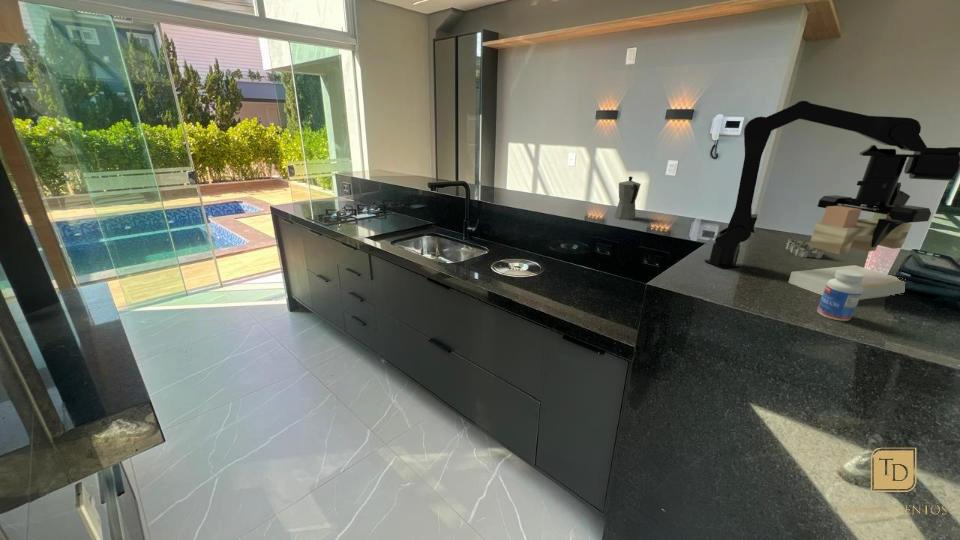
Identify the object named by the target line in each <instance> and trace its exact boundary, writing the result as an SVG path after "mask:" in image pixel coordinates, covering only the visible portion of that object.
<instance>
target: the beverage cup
mask: <svg viewBox="0 0 960 540" xmlns="http://www.w3.org/2000/svg"><path fill="white" fill-rule="evenodd" d="M904 246H905V245H904V244H903V246H902V248H896V249H892V248H888V247H883V246H879V245H878V246H877V248H876V251H868V254H867V257H866V261H865V264H864V267H863V268H866V269H870V270H874V271H877V272H881V273H884V274H888V275H889V272H890V271H891V269H892V266H893V265H894V263H895V261H896V259H897V257H898V255H899V252H900V251H901V249H903V247H904Z"/></svg>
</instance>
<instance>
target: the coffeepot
mask: <svg viewBox="0 0 960 540" xmlns="http://www.w3.org/2000/svg"><path fill="white" fill-rule="evenodd" d="M633 178H634V177H633V176H628V180H625V181H621V182H619V183H618V199H619V201H618V204H617V207H616V211H615V214H614V218H616V219H618V220H623V221H624V220H627V221H630V220H632V221H633V220H635V219H636V200H637V196H638V194H639V191H640V187H641V183H639V182H636V181H633Z"/></svg>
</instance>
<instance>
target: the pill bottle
mask: <svg viewBox="0 0 960 540" xmlns="http://www.w3.org/2000/svg"><path fill="white" fill-rule="evenodd" d="M863 276H864V275H863V274H861V273H859V272H856V271H851V270H845V269H839V270H837V272H836V274H835V277H836V278H835V279H831V280H829V281H828V282H827V285H826V287H825V290H824V293H823V295H821V298H820V300H819V304H818V307H817V309H816V312H817V313H818V314H819V315H821V316H823V317H824V318H827V319H830V320H836V321H842V322H846V321H847V322H848V321H849V320H851V319H852V317H853V315H854V313H855V311H856V309H857V305H858V303H859V301H860V300H859V299H860V296H861V294H862V291H863V287H862V286H861V285H860V284H859V283H860V282H861V281H862V279H863Z"/></svg>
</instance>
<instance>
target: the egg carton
mask: <svg viewBox="0 0 960 540" xmlns="http://www.w3.org/2000/svg"><path fill="white" fill-rule="evenodd" d="M809 244H810V241H808V242H805V241H804V240H799V239H790V238H789V237H787V244H786V246H785V250H788V251H790V253H791V254H794V256H796V257H801V258H813V257H814V259H817V258H818V260H819V259H821V258H822V257H823V255H824V253H825V252H824V250H821V249H817V248H813V247H809Z"/></svg>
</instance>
